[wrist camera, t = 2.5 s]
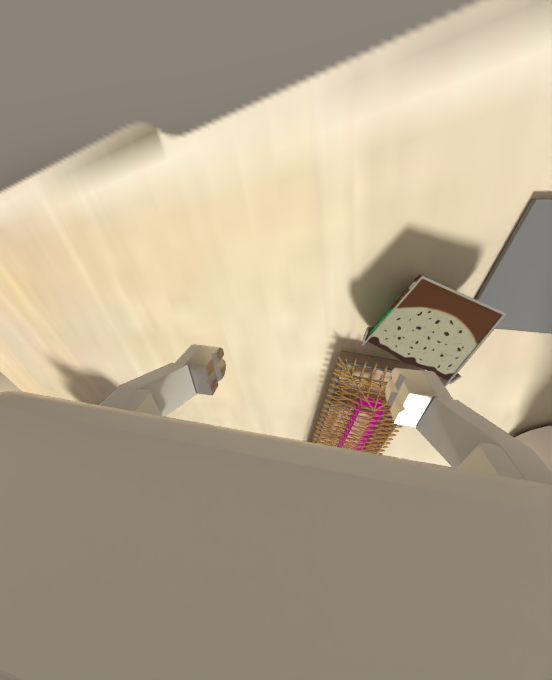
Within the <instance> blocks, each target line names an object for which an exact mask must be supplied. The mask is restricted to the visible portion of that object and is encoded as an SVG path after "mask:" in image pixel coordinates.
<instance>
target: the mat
mask: <svg viewBox="0 0 552 680" xmlns="http://www.w3.org/2000/svg"><path fill="white" fill-rule="evenodd" d="M475 300H478V301H480V302H482V303H484V304H486V305H489V306H491V307H493V308H495V309H498V310H500V311H502V312H504V313H506V316H505V317H504V318H503V319H502V320H501V322H500V323H499V324H498V325H497V326H496V328H495V329H506V330H517V331H528V332H540V333H551V334H552V199H532V200H531V202H530V204H529V205H528V207H527V209H526V211H525V212H524V214H523V216H522V218H521V219H520V221H519V223H518V225H517V226H516V228H515V230H514V232H513V233H512V235H511V237H510V239H509V240H508V242H507V244H506V246H505V247H504V249H503V251H502V253H501V254H500V256H499V258H498V260H497V262H496V263H495V265H494V267H493V269H492V270H491V272H490V274H489V276H488V277H487V279H486V281H485V283H484V284H483V286H482V288H481V290H480V291H479V293H478V295H477V297H476V298H475Z"/></svg>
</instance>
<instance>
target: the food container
mask: <svg viewBox="0 0 552 680" xmlns="http://www.w3.org/2000/svg"><path fill="white" fill-rule="evenodd" d="M505 316H506V313H504V312H502V311H500V310H498V309H495V308H493V307H491V306H489V305H486V304H484V303H482V302H480V301H478V300H475V299H473V298H471V297H469V296H466V295H464V294H462V293H460V292H457V291H455V290H453V289H451V288H449V287H446V286H444V285H442V284H440V283H437V282H435V281H433V280H431V279H429V278H426V277H424V276H422V275H419V276H418V277H417V278H416V279H415V280H414V282H413V283H412V284H411V285H410V286H409V288H408V289H407V290H406V291H405V292H404V293H403V295H402V296H401V297H400V298H399V299H398V300H397V302H396V303H395V304H394V305H393V306H392V307H391V309H390V310H389V311H388V312H387V313H386V314H385V316H384V317H383V318H382V319H381V320H380V321H379V323H378V324H377V325H376V326H375V327H368V328H367V330H366V332H365V334H364V337H363V342H362V347H363V345H364V344H365V343H366V342H370V343H372V344H374V345H376V346H378V347H380V348H382V349H384V350H386V351H388V352H389V353H391V354H393V355H394V356H395V357H397V358H398V359H400V360H401V361H403V362H405V363H407V364H410V365H413V366H416V367H419V368H422V369H425V370H427V371H433V372H435V373H436V375H437V376H438V378H439V379H440V381H441V382H442V383H443V385H444V386H446V385H448V384H449V383H450V384H452V383H453V382H455V381H456V380H458V379H459V378H461V376H460V375H459V374H458V372H459V371H460V369H461V368H462V367H463V366H464V365H465V363H466V362H467V361H468V360H469V359H470V357H471V356H472V355H473V354H474V353H475V351H476V350H477V349H478V348H479V347H480V346H481V344H482V343H483V342H484V341H485V340H486V338H487V337H488V336H489V335H490V334H491V332H492V331H493V330H494V329H495V328H496V326H497V325H498V324H499V323H500V322H501V320H502V319H503V318H504V317H505Z"/></svg>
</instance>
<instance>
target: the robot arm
mask: <svg viewBox="0 0 552 680" xmlns="http://www.w3.org/2000/svg"><path fill="white" fill-rule="evenodd" d="M223 355H224V352H223V349H222V348H219V347H212V346H205V345H196V344H193V345H191V346H190V347H189V348H188V349H187V351H186V352H185V353H184V354H183V355H182V356H181V357H180V358H179V359H178V360H177V361H176V362H175V363H170V364H168V365H166V366H163V367H161V368H159V369H156V370H154V371H152V372H150V373H147V374H145V375H143V376H140V377H138V378H136V379H133V380H131V381H129V382H126V383H124V384H122V385H120V386H119V387H118V388H117V389H115V390H114V391H113V392H112V393H111V394H110V395H109V396H108V397H107V398H105V399H104V400H103V401H102V402H101V403H100V404H99V405H95V404H89V403H83V402H78V401H72V400H66V399H61V398H55V397H49V396H43V395H38V394H33V393H28V392H23V391H5V392H1V393H0V680H552V426H546V427H542V428H538V429H534V430H531V431H528V432H525V433H523V434H520V435H518V436H516V437H515V438H514V437H513V436H511V435H510V434H508V433H507V432H505V431H504V430H502V429H501V428H499V427H497V426H496V425H494V424H493V423H491V422H490V421H488V420H487V419H485V418H484V417H482V416H481V415H479V414H478V413H476V412H475V411H473V410H472V409H470V408H469V407H467V406H466V405H464V404H463V403H461V402H460V401H458V400H453V398H452V397H451V395H450V394H449V392H448V391H447V389H446V388H445V386H444V385H443V383H442V382H441V381H440V379H439V378H438V376H437V375H436V373H435V372H433V371H425V370H411V369H402V368H394V369H393V370H392V373H391V376H392V379H391V380H390V381H388V383H387V385H386V391H385V394H386V399H387V402H388V403H389V404H390V405H391V406H392V407H391V409H390V412H391V415H392V418H393V421H394V423H397V424H403V425H408V426H414V427H416V429H417V430H418V431H419V432H420V433H421V434H422V435H423V436H424V437H425V438H426V439H427V440H428V441H429V442H430V444H431V445H432V446H433V447H434V448H435V449H436V450H437V451H438V452H439V453H440V454H441V455H442V456H443V457H444V459H445V460H446V461H447V462H448V463H449V464H450V465H451V466H452V467H447V466H442V465H436V464H430V463H425V462H419V461H413V460H408V459H402V458H396V457H391V456H385V455H379V454H374V453H368V452H362V451H356V450H351V449H345V448H339V447H334V446H328V445H322V444H317V443H311V442H305V441H300V440H294V439H288V438H283V437H277V436H271V435H266V434H260V433H254V432H248V431H243V430H237V429H231V428H226V427H220V426H214V425H209V424H203V423H197V422H192V421H186V420H180V419H175V418H169V417H165V416H167V415H168V414H169V413H171V412H172V411H174V410H175V409H176V408H178V407H179V406H181V405H182V404H183V403H185V402H186V401H188V400H189V399H190V398H192V397H193V396H195V395H196V393H198V394H206V395H213V394H214V392H215V390H216V389H217V387H218V381H220V380H221V379H222V378H223V376H224V374H225V370H226V364H225V361H224V360H223V358H222V357H223Z"/></svg>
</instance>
